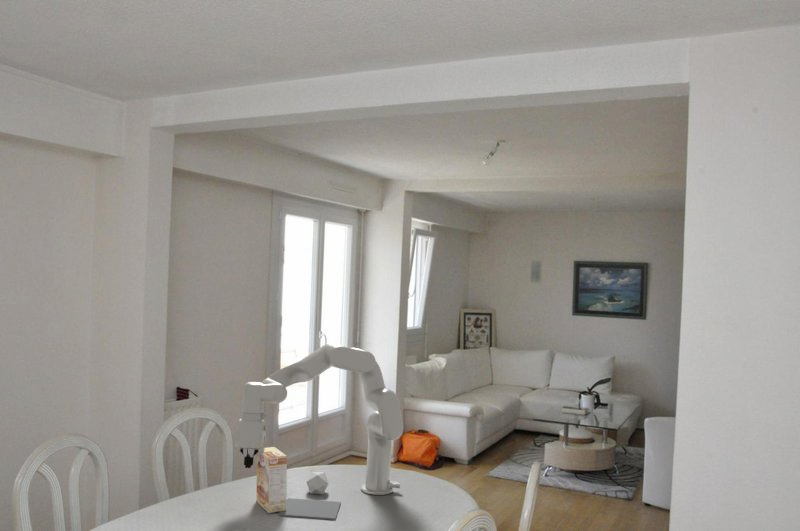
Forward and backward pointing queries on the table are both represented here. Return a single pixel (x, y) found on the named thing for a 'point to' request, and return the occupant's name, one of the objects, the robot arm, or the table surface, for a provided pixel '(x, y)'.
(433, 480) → the table surface
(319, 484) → the die
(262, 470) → the coffeecake box
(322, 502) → the mat
